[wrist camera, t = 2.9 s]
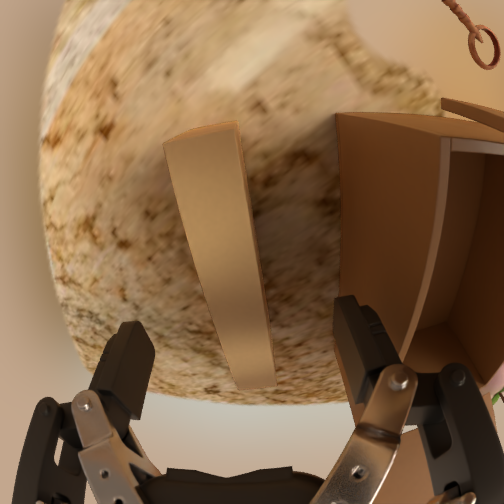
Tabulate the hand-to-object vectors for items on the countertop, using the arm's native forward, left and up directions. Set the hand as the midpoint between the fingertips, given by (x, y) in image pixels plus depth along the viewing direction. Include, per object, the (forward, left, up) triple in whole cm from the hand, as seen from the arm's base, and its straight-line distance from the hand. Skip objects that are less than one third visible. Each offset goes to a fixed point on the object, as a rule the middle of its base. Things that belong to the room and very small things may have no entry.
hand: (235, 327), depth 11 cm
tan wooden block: (0, 0, -6) cm, 6 cm away
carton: (+2, +12, -6) cm, 14 cm away
